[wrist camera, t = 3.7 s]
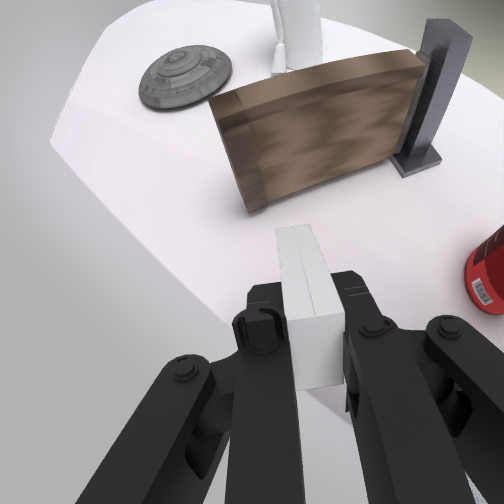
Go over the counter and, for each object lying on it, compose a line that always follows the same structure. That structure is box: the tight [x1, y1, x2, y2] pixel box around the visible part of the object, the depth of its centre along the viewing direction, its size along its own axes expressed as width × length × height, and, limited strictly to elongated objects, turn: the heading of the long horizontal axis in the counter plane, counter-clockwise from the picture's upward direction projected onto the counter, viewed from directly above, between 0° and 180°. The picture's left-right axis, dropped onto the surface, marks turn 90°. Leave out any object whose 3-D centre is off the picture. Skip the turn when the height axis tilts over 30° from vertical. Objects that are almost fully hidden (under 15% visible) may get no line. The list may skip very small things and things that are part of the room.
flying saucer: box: [139, 45, 232, 108], centre depth 41 cm, size 15×15×6 cm
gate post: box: [390, 19, 473, 178], centre depth 25 cm, size 6×6×18 cm
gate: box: [208, 49, 431, 213], centre depth 26 cm, size 19×2×13 cm, turn 110°
